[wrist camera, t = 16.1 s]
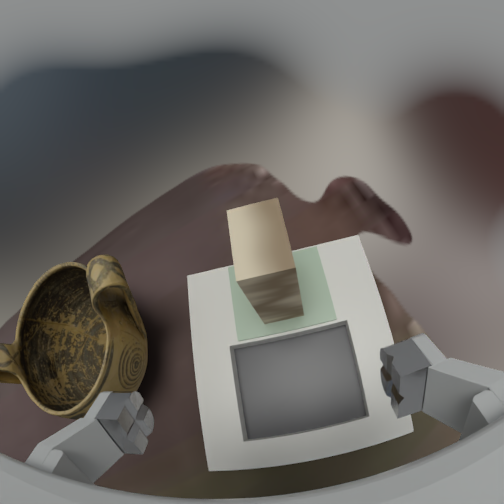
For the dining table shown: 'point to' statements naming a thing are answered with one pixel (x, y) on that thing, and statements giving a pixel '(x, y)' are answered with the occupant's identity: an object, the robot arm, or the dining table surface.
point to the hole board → (293, 365)
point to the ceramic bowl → (77, 338)
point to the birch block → (265, 261)
